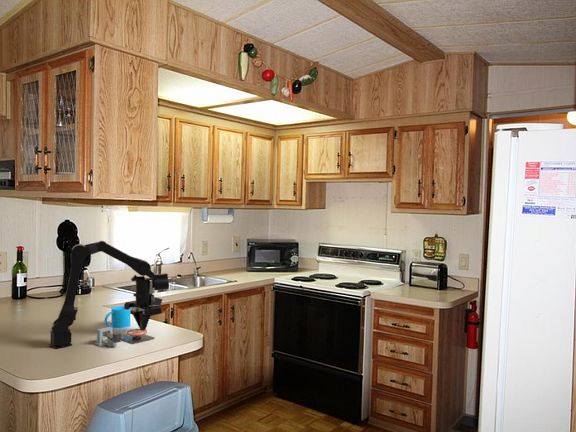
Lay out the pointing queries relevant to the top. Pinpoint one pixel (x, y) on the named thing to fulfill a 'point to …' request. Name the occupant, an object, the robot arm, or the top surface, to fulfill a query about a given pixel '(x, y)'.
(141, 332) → the handwheel
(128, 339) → the wheel mount
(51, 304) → the top surface
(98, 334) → the eye bracket
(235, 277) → the top surface
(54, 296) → the top surface
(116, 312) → the mug
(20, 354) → the top surface
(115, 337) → the hook rod
